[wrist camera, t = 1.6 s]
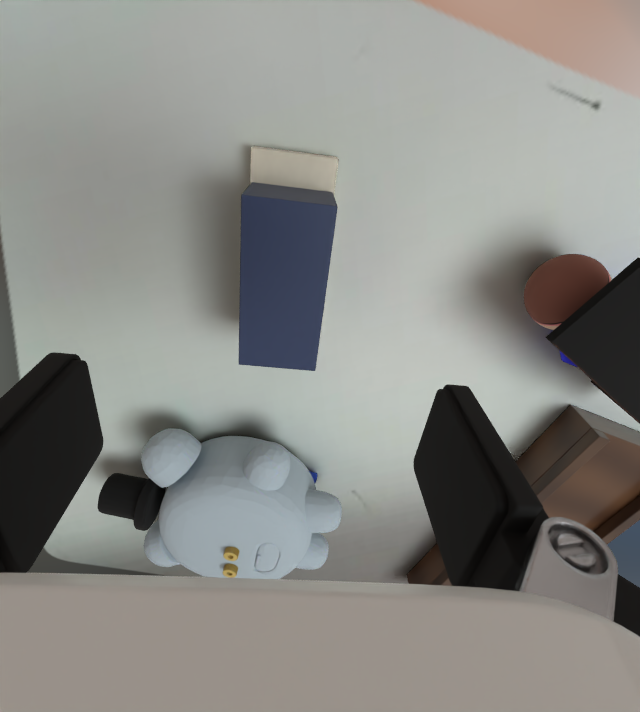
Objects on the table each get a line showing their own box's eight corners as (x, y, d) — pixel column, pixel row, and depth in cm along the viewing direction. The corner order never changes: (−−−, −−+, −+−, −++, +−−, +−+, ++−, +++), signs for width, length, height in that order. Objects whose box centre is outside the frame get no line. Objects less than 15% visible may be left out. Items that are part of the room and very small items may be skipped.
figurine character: (662, 327, 32) (567, 217, 25) (757, 387, 26) (664, 262, 19) (589, 381, 35) (487, 295, 28) (660, 448, 28) (549, 356, 22)
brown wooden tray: (570, 404, 34) (599, 436, 31) (663, 441, 37) (700, 474, 33) (406, 574, 47) (414, 610, 44) (484, 592, 50) (497, 627, 46)
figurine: (358, 429, 34) (130, 380, 33) (360, 511, 27) (67, 451, 26) (317, 547, 43) (136, 510, 42) (310, 633, 36) (90, 591, 35)
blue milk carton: (253, 145, 23) (239, 153, 18) (337, 156, 24) (345, 167, 19) (248, 326, 29) (237, 367, 25) (314, 333, 30) (316, 374, 25)
